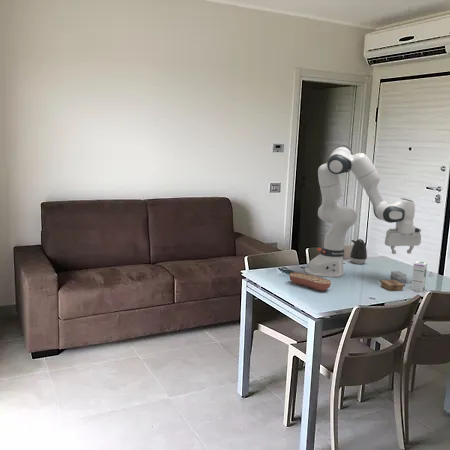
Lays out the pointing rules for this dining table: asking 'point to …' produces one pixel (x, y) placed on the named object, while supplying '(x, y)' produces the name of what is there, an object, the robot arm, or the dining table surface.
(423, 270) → the syrup box
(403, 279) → the housing
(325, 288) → the bread loaf
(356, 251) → the black kettle
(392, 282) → the stand
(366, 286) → the dining table surface
